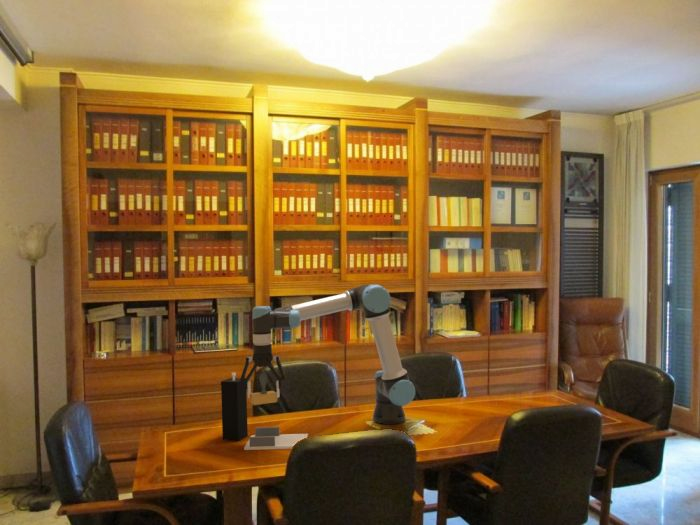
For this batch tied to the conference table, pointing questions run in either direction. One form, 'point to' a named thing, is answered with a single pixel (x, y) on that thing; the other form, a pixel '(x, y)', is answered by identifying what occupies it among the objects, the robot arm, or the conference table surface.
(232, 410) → the black square column
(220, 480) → the conference table surface
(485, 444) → the conference table surface
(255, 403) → the rubber stamp
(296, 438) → the docking plate
